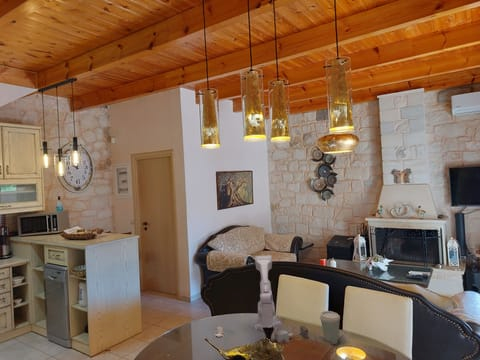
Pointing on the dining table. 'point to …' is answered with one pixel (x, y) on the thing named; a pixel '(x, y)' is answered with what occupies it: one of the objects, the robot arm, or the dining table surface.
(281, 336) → the gauge carriage
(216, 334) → the teacup and saucer
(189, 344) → the dining table surface
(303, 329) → the scale board
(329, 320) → the disposable coffee cup
